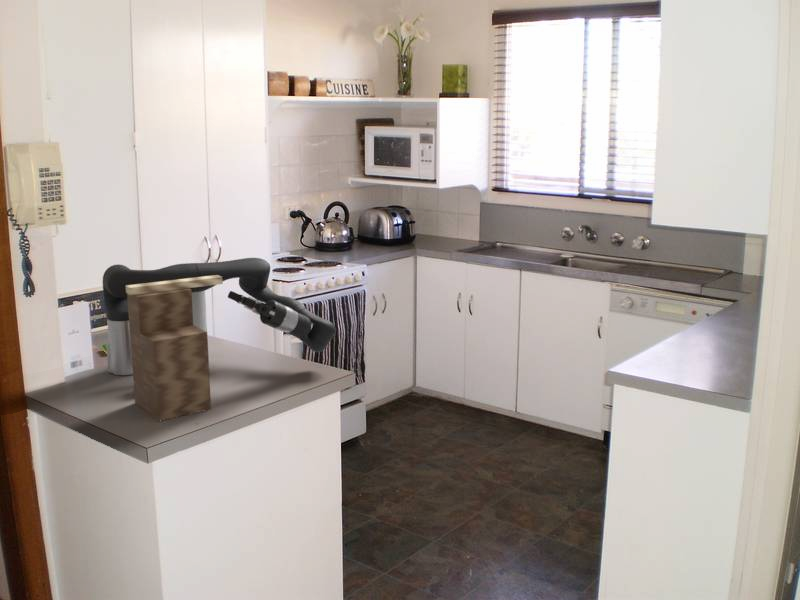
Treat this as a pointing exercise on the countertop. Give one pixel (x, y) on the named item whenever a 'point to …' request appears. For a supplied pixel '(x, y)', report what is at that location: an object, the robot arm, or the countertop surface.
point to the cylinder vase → (199, 310)
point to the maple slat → (173, 284)
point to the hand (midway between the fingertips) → (235, 296)
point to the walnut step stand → (168, 354)
